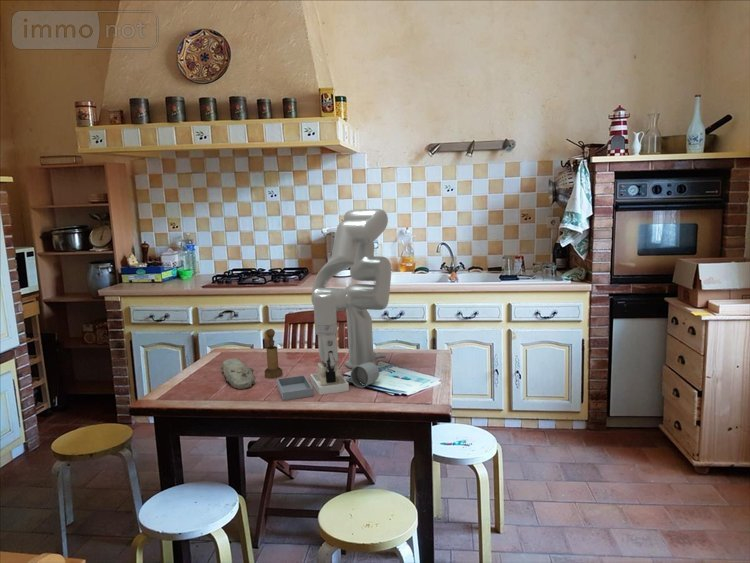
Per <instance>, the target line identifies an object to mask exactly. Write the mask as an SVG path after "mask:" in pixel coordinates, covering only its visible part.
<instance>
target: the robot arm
mask: <svg viewBox="0 0 750 563" xmlns="http://www.w3.org/2000/svg"><path fill="white" fill-rule="evenodd" d="M388 222H389V218H388V214H387V212H386V210H384V209H381V208H367V209H364V208H363V209H362V208H360V209H351V210H348V211H346V212H345V213H344V215H343V220H342V221H341V222H340V223H338V225H337V227H336V232H335V237H334V242H333V246H332V251H331V252H332V253H331V255H330V259H329V261H327V262H326V263H324V265H323V266H322V267H321V269H320V270H319V271H318V273H317V274H316V276H315V278H314V281H313V285H312V290H311V303H312V305H313V315H314V317H313V318H314V320H313V321H314V332H315V333H314V334H315V335H317V340H318V342H317V343H318V354H319V358H320V360H321V363H323V362H324V363H326V370H327V371H326V382H327V383H333V382H336V375H335V363H334V361H335V362H336V363H338V362H339V351H338V342H337V336H336V334H337V333H338V321H337V320H338V318H337V312H339V311H345V314H346V324H347V325H346V326H347V341H348V342H347V346H348V359H347V360H345V363H344V364H345V367H347V368H348V369H351V370H352V369H353V368H354V367H355V366H358V365H361V364H364V363H367V362H372V363H374V364H376V366H378V363H379V361H378V360H379V359H385V358H386V357H387V356H386V353H385V352H382V353H381V352H380V351H379V352H375V351H374V345H373V344H374V338H373V321H372V320H373V319H372V316H371V315H370V313H369V311H370V310H371V311H382V310H385V309H386V308H387V307H388V304H389V300H390V294H391V293H390V290H391V281H392V264H391V262H390V260H389V259H388V258H387V257H385V256H375V241H376V240H377V239H378V238H379V237H380V236H381V235H382V234H383V232H384V231H386V230H387V226H388ZM347 269H349V271H350V277H351V278H352V279H353V280H355V281H359V282H375V284H370V283H369V284H367V283H353V284H349V285H347V286H346V287H345V288H336V287H335V288H334V287H327V284H328V282H329V280H331V279H332V278H333V277H334V276H336V275H337V274H340V273H341V272H343V271H345V270H347ZM368 310H369V311H368ZM327 362H328V363H327ZM328 364H330V365H329V368H328Z"/></svg>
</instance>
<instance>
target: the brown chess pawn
mask: <svg viewBox="0 0 750 563" xmlns="http://www.w3.org/2000/svg"><path fill="white" fill-rule="evenodd" d="M265 332H266V337H267V338H268V341H267V343H268V346H267V347H266V348H265V350H266V362H267V368H266V369H265V370H264V378H265V379H279V378H281V377H282V376H283V369H282V368H281V367H279V357H278V347H277V346H275V340H274V337H275V334H276V332H275V330H274V329H273V328H269V329H267V330H266V331H265Z"/></svg>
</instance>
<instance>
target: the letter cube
mask: <svg viewBox="0 0 750 563" xmlns="http://www.w3.org/2000/svg"><path fill="white" fill-rule="evenodd" d="M327 363H328V362H327ZM334 363H335V375H336V382H333V383H327V382H326V371H327V370H326V363H324V362H323V363H322V362H319V363H317V373H318V377H319V381H320V382H321V384H322V385H327V384H334V383H340V381H339V373H340V367H339V364H338V362H335V360H334ZM329 365H330V364H328V368H329Z"/></svg>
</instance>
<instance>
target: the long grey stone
mask: <svg viewBox="0 0 750 563" xmlns="http://www.w3.org/2000/svg"><path fill="white" fill-rule="evenodd" d="M254 370H255V369H254V367H252V366H250V367H249V366H246V365H245V363H244V362H243V361H241V360H240V358H237V357H234V358H227V359H225V360H224V361H223V362H222V363H221V372H222V373H223V376H224V377H225V379H226V382H227V383H229V384H230V385H231V386H232V387H233V388H234V389H238V390H244V389H248V388H251V387H253V385H254V384H255V379H256V377H255V375H254Z"/></svg>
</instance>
